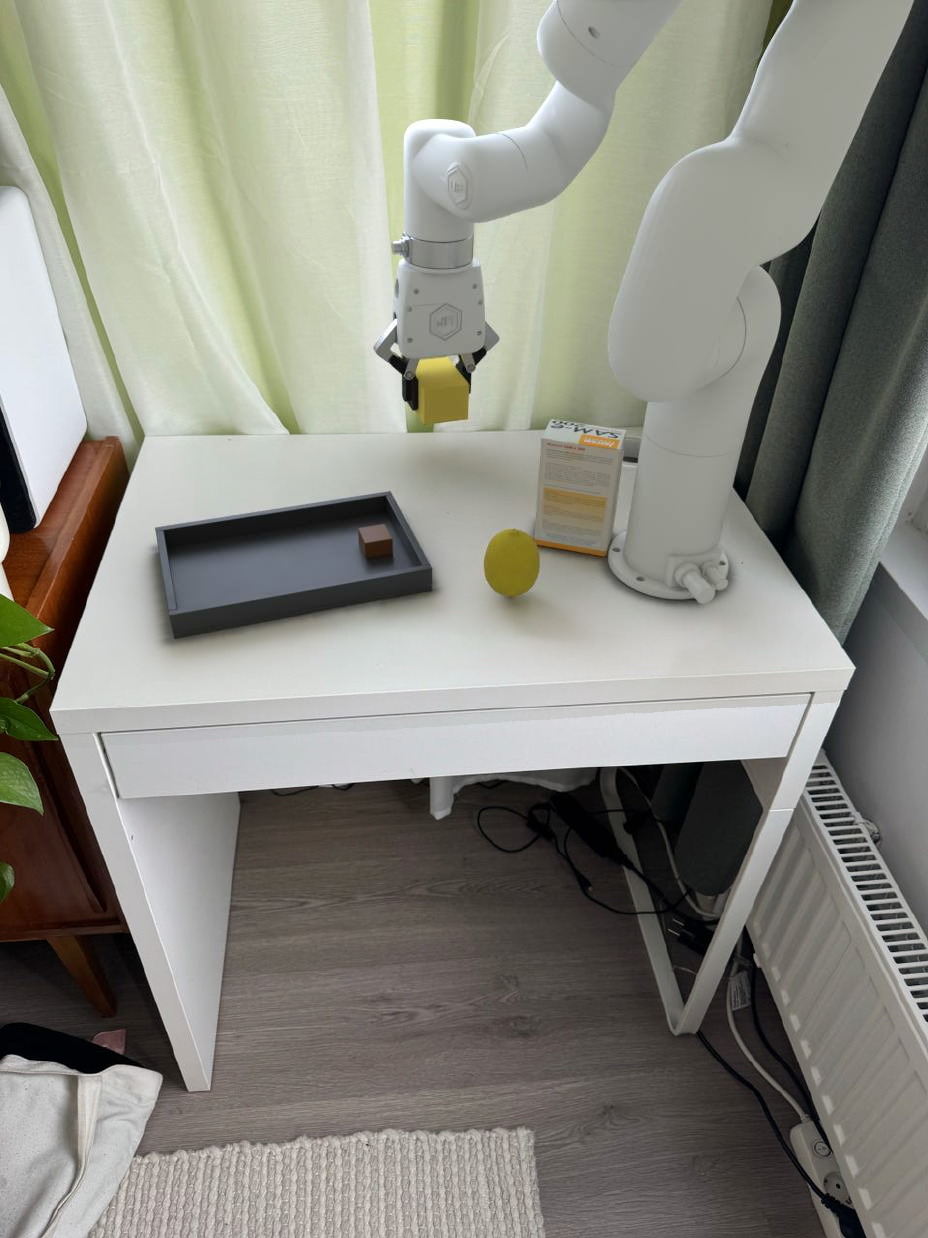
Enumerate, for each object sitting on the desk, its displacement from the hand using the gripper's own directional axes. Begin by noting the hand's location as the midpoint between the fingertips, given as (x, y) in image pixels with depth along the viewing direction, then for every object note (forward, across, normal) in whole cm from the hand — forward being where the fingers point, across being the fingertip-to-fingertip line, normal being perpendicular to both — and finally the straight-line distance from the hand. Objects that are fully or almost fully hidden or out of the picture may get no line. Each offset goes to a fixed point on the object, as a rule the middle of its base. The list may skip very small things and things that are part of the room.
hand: (436, 401), depth 112 cm
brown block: (+6, -13, -19) cm, 24 cm away
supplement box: (+7, +9, -23) cm, 25 cm away
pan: (+7, -22, -19) cm, 30 cm away
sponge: (+1, 0, 0) cm, 1 cm away
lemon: (+7, -2, -30) cm, 31 cm away
